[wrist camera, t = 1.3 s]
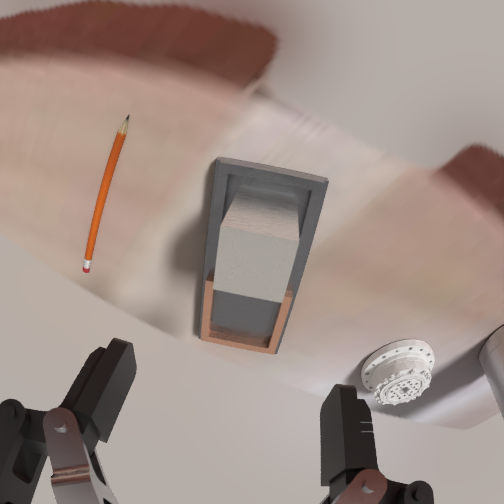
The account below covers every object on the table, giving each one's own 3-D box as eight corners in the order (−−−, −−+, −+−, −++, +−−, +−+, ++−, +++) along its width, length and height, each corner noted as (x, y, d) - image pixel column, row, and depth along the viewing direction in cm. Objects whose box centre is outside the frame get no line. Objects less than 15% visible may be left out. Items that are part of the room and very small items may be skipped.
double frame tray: (327, 177, 24) (330, 184, 22) (277, 347, 34) (276, 360, 32) (219, 156, 24) (213, 161, 22) (200, 332, 34) (196, 344, 32)
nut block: (296, 195, 24) (299, 241, 17) (284, 244, 26) (282, 303, 19) (240, 184, 24) (220, 225, 17) (233, 234, 26) (213, 289, 19)
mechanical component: (346, 365, 35) (382, 394, 38) (349, 393, 31) (386, 418, 34) (414, 324, 31) (441, 360, 33) (424, 352, 27) (450, 385, 30)
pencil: (84, 266, 32) (81, 270, 31) (127, 111, 23) (122, 112, 22) (90, 270, 32) (87, 274, 31) (135, 115, 23) (131, 116, 22)
